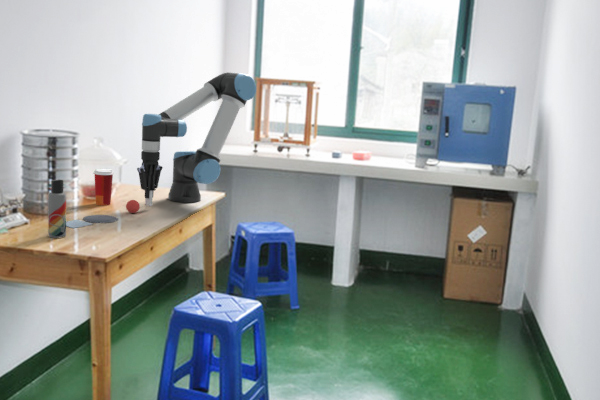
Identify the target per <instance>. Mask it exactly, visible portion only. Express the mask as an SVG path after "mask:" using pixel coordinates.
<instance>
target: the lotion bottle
mask: <svg viewBox="0 0 600 400" xmlns="http://www.w3.org/2000/svg"><path fill="white" fill-rule="evenodd" d="M47 198H48V203H47V204H48V205H47V206H48V208H47V209H48V211H47V213H48V215H47V216H48V217H47V218H48V219H47V220H48V222H47V224H48V227H47V228H48V229H47V230H48V237H49V238H53V239H56V238H57V239H61V238H65V237H66V236H67V226H66V222H67V193H66V192H64V180H63V179H55V180H51V190H50V192H49V193H48V196H47Z"/></svg>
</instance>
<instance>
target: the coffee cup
mask: <svg viewBox="0 0 600 400" xmlns="http://www.w3.org/2000/svg"><path fill="white" fill-rule="evenodd" d="M93 175H94V192H95V194H94V196H95V205H96V206H102V207H103V206H110V205H111V202H112V201H111V199H112V190H113V187H112V186H113V175H114V172H113V170H112V169H110V168H109V169H108V168H97V169H95V170H94V172H93Z"/></svg>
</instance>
